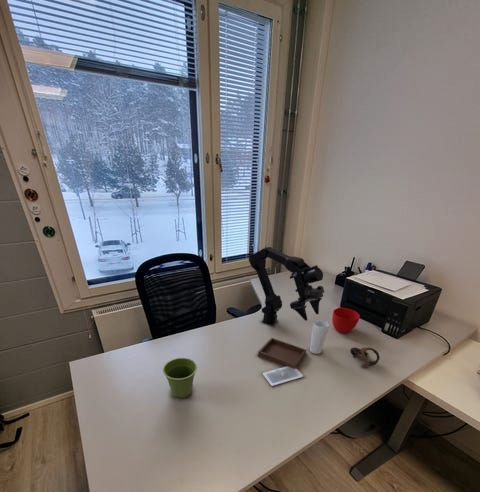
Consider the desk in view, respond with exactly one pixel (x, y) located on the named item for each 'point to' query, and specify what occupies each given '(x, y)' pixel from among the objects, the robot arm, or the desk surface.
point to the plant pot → (180, 376)
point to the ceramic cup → (345, 319)
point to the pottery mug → (364, 355)
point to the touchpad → (282, 375)
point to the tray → (282, 353)
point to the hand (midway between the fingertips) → (312, 317)
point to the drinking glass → (318, 336)
